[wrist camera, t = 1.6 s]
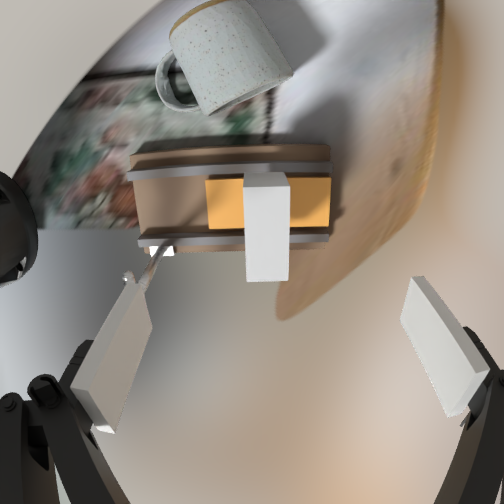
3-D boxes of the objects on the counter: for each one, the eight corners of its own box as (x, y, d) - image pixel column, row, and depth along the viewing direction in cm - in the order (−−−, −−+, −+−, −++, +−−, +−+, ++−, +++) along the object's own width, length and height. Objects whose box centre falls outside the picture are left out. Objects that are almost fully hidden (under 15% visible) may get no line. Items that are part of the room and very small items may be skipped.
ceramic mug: (247, 7, 21) (243, -22, 15) (289, 80, 25) (301, 73, 18) (144, 62, 24) (109, 54, 17) (185, 133, 27) (162, 145, 20)
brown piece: (149, 246, 32) (141, 259, 30) (135, 153, 28) (124, 158, 25) (321, 242, 32) (327, 254, 30) (326, 144, 27) (333, 148, 25)
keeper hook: (152, 254, 31) (120, 312, 22) (147, 224, 29) (109, 275, 21) (174, 253, 31) (149, 313, 22) (170, 223, 29) (139, 275, 21)
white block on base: (210, 238, 30) (199, 282, 23) (204, 165, 27) (188, 189, 20) (326, 235, 30) (347, 278, 23) (330, 163, 27) (357, 186, 20)
